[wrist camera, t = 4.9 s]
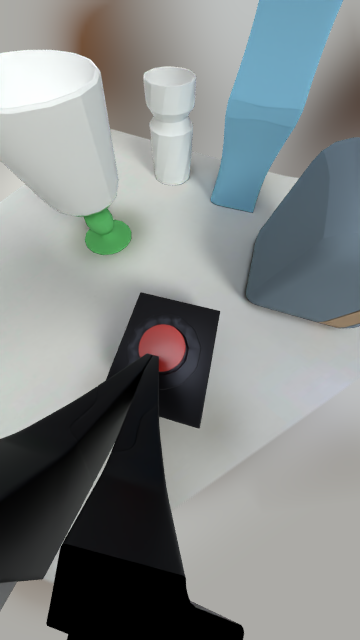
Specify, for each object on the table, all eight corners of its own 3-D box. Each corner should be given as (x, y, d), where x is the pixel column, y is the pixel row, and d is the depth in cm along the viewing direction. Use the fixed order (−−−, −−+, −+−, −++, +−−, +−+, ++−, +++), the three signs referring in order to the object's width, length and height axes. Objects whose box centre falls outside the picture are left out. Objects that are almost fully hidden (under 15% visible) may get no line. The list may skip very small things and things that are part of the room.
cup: (104, 204, 30) (27, 41, 15) (156, 228, 28) (130, 65, 13) (58, 246, 26) (-110, 84, 11) (114, 276, 24) (6, 128, 9)
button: (178, 375, 12) (178, 377, 11) (137, 364, 13) (131, 364, 11) (188, 334, 14) (190, 330, 12) (151, 324, 14) (147, 319, 12)
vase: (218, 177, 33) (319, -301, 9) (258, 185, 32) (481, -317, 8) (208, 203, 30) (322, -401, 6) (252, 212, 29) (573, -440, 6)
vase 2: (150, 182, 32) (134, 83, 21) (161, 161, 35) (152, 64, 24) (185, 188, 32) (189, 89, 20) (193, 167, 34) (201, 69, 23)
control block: (193, 409, 18) (203, 439, 11) (122, 388, 18) (85, 403, 11) (209, 324, 21) (225, 304, 14) (149, 309, 22) (135, 283, 15)
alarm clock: (343, 335, 21) (774, 259, 6) (239, 305, 22) (366, 183, 7) (338, 255, 26) (565, 101, 11) (253, 235, 27) (347, 74, 12)
